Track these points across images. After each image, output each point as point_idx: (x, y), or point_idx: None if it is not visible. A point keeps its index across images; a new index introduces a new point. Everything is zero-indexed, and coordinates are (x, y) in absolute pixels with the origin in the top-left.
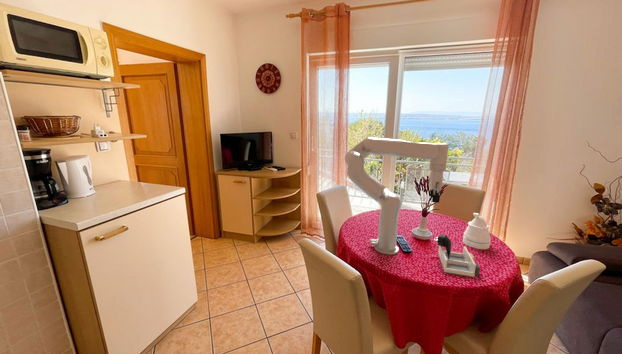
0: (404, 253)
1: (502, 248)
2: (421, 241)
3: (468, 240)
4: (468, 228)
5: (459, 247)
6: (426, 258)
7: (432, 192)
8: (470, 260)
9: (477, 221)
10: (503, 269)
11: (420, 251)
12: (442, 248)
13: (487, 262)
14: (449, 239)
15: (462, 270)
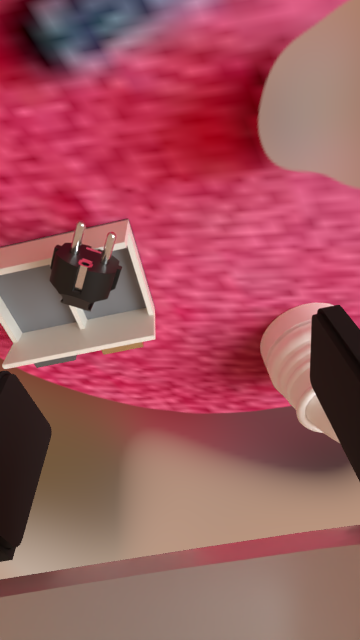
0: (2, 25)
1: None
2: (239, 116)
3: (284, 333)
4: None
5: (245, 293)
6: (39, 169)
7: (349, 402)
8: (50, 350)
9: None
10: (139, 395)
11: (99, 128)
12: None
13: (161, 366)
14: (86, 308)
15: (1, 316)
